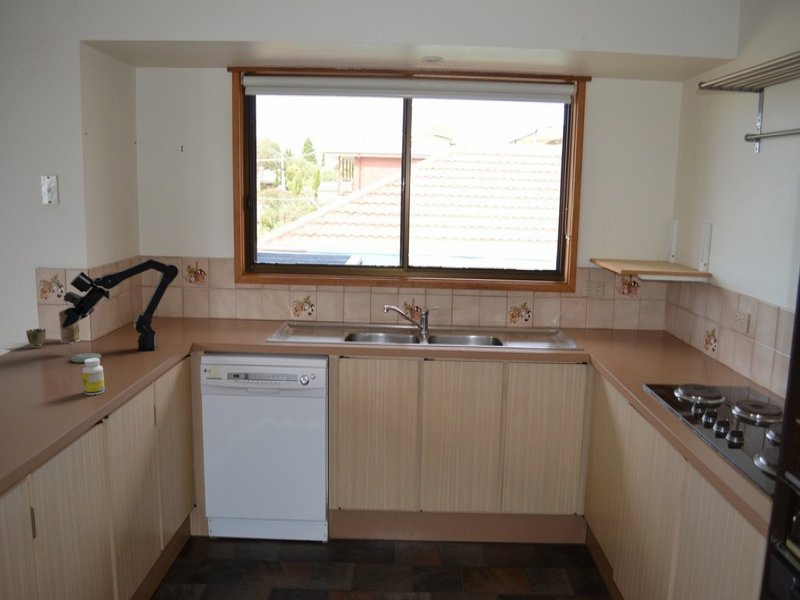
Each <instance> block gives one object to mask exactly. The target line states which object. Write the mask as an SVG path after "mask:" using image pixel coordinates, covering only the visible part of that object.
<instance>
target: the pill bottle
mask: <svg viewBox="0 0 800 600" xmlns="http://www.w3.org/2000/svg"><path fill="white" fill-rule="evenodd" d="M100 363H101V359H99V358H90V359H86V360H85V362H84V365H85V366H84V367H83V368H82V381H83V382H82V383H83V393H84V394H85V395H87V396H88V395H89V396H94V395H95V394H96V395H100V394H102V393H104V392H105V390H106V389H105V378H104V377H105V375H104V368H103V366H102V365H100Z"/></svg>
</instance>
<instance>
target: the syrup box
mask: <svg viewBox="0 0 800 600" xmlns="http://www.w3.org/2000/svg"><path fill="white" fill-rule="evenodd" d="M59 312H60V311H58V312H57V315H58V316H57V317H58V323H59V325H58V326H59V334H60V335H59V336H60V343H61V344H63V343H62V336H61V326H60V316H59ZM79 322H80V321H78V329H79V340H78V341H76V342H75V343H78V342H80V341H81V334H80V324H79ZM68 344H70V345H72V344H74V343H68Z"/></svg>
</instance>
